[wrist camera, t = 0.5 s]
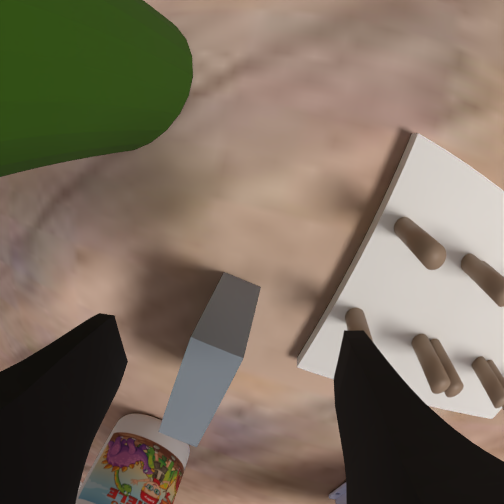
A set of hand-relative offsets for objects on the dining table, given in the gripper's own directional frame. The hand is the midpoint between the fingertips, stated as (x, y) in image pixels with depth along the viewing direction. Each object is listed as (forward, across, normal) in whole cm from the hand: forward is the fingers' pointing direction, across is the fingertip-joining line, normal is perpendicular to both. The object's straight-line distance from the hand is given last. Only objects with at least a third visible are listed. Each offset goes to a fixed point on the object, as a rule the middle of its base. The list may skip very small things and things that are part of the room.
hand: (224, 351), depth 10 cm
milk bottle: (+9, +10, +21) cm, 25 cm away
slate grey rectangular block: (+10, +2, +7) cm, 12 cm away
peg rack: (+9, -16, +5) cm, 19 cm away
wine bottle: (+11, +8, -9) cm, 16 cm away
